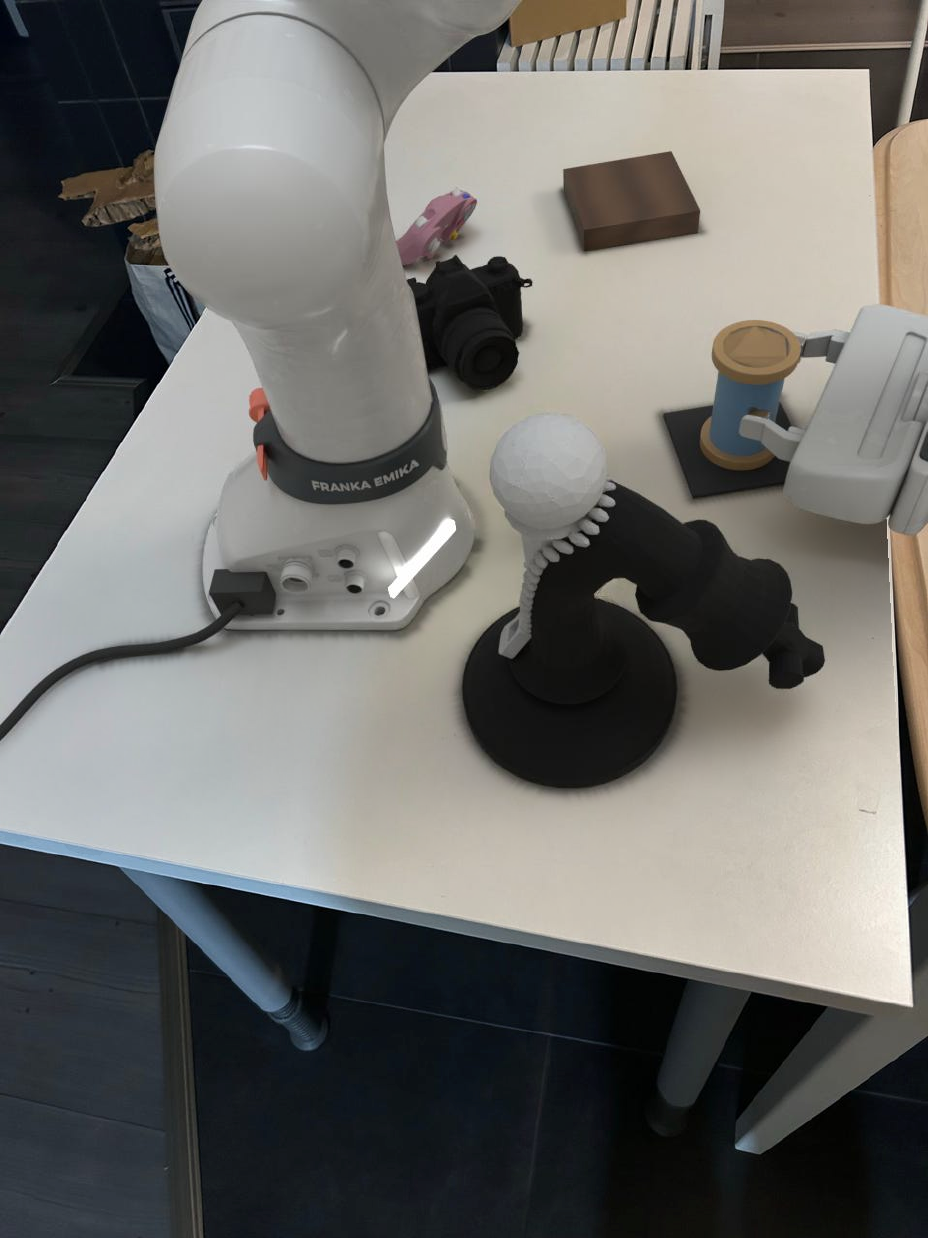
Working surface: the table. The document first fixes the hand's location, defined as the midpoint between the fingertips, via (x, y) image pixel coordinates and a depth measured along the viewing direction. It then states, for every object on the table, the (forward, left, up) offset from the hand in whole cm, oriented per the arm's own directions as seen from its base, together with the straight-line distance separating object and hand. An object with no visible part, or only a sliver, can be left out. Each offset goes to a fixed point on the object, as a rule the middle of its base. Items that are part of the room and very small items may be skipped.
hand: (762, 380), depth 71 cm
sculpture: (-15, -22, -7) cm, 27 cm away
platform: (-2, +37, -7) cm, 38 cm away
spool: (-1, 0, -7) cm, 7 cm away
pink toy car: (-23, +36, -7) cm, 44 cm away
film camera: (-22, +17, -7) cm, 29 cm away
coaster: (-1, 0, -7) cm, 7 cm away
